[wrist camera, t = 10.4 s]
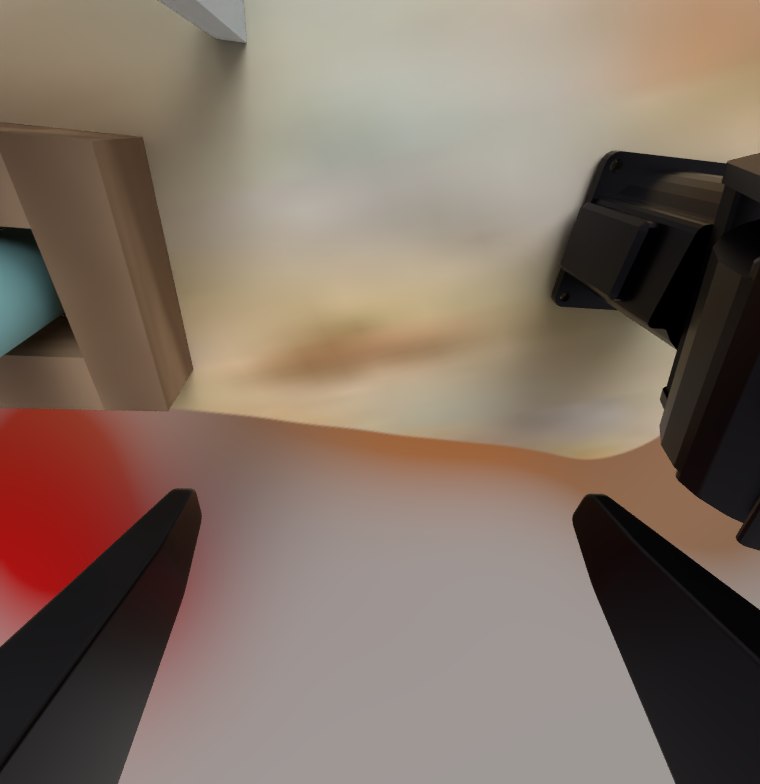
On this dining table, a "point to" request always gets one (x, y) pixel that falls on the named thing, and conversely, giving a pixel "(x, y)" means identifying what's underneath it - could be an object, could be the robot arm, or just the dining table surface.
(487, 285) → the dining table surface
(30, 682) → the robot arm
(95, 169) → the socket
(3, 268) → the peg
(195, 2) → the small white footstool
